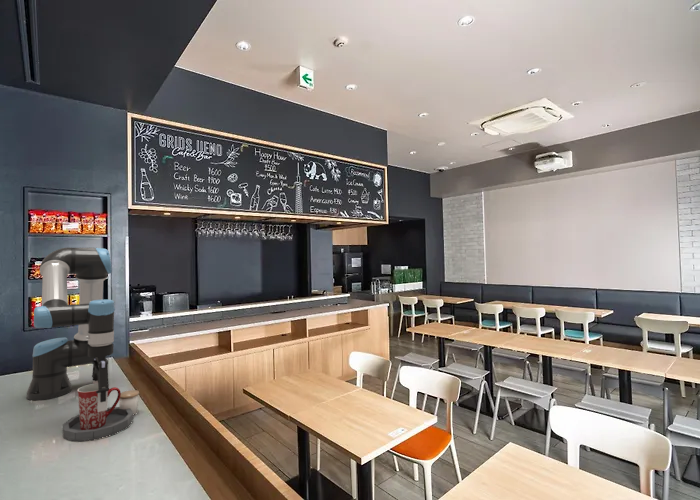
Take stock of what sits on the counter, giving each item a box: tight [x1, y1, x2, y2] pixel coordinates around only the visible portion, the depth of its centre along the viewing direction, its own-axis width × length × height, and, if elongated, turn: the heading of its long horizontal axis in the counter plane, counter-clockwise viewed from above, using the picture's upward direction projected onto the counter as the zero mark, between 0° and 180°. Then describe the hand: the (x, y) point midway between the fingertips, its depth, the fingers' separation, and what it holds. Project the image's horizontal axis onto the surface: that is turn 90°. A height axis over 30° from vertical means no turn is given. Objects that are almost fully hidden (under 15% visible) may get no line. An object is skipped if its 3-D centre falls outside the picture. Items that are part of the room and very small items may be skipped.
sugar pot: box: [118, 389, 140, 415], centre depth 139 cm, size 7×7×8 cm
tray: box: [62, 406, 134, 443], centre depth 128 cm, size 20×20×3 cm
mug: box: [77, 383, 122, 430], centre depth 128 cm, size 13×9×14 cm
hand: (99, 404), depth 128 cm, fingers open, 13 cm apart
